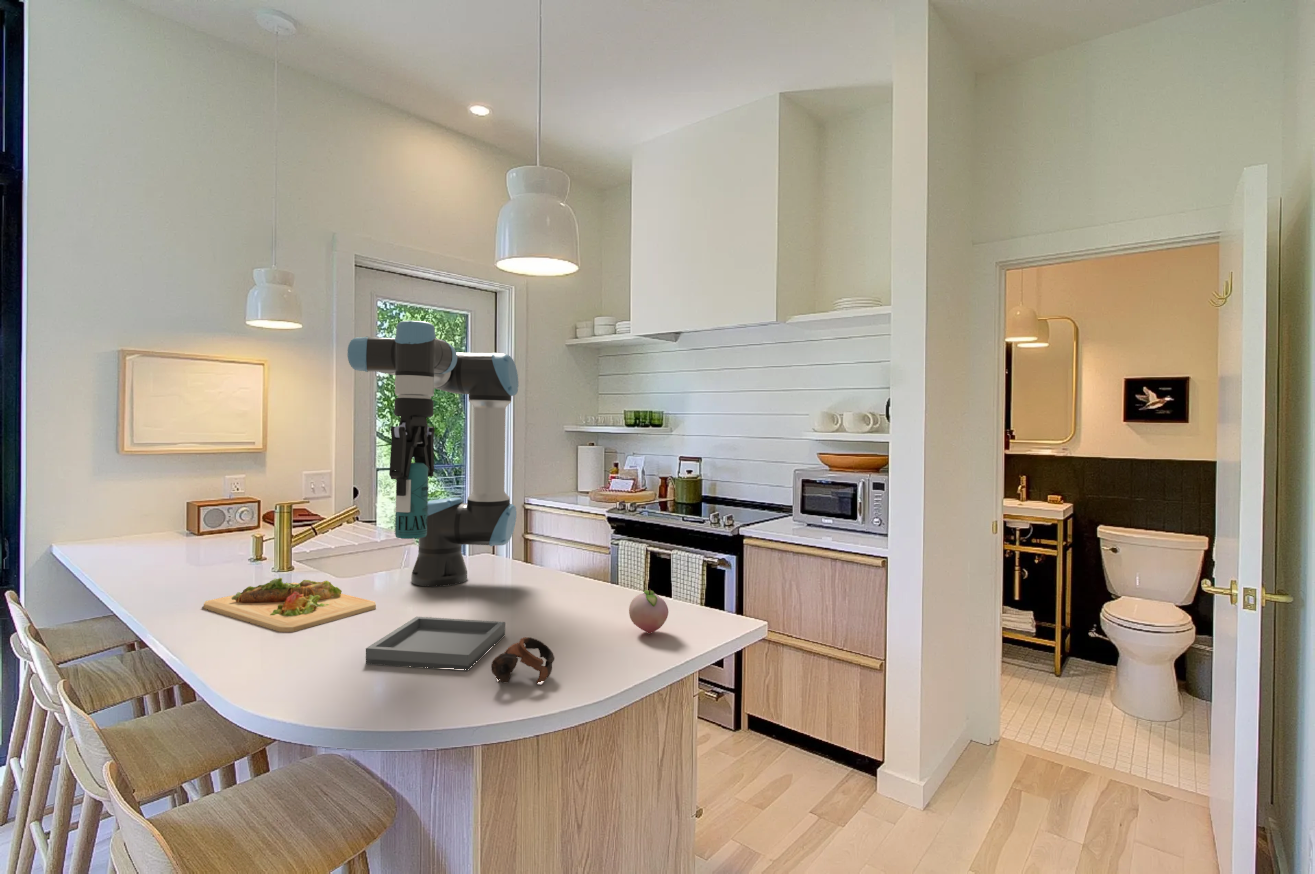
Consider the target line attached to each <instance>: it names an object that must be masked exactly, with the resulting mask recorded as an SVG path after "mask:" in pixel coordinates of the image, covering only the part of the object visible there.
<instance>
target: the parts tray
mask: <svg viewBox="0 0 1315 874" xmlns="http://www.w3.org/2000/svg"><path fill="white" fill-rule="evenodd" d="M504 635H505V636H506V621H496V620H482V619H481V620H479V619H478V620H477V619H462V618H444V617H443V618H442V617H432V616H431V617H429V616H415V617H414V618H412V619H410V620H409V621H407V622H405V623H403V624H402V625H401V626H400V627H397V628H396V629H394V630H393V631H391V632H389V633H388V634H386V635H384V636H383V637H381V638H380V639H379V640H377V641H375V642H373V643H372V644H370V645H368V646H367V647H366V648H365V665H375V666H389V667H401V666H408V667H407V668H415V667H423V668H422V669H430V668H454V669H464V670H465V669H466V670H468V669H469V668H470V667H471V666H473V664H474V663H476V661H478V660H479V659H480V658H481V657H482V656H483V655H484V654H485V653H486V652H487V651H488V650H489V649H490V648H491V647H492V646H494V644H496V643H497V642H498V641H499V640H500V639H501V638H502V637H503V636H504ZM505 636H504V637H505ZM504 637H503V638H504ZM503 638H502V639H503ZM502 639H501V640H502ZM501 640H500V641H501ZM500 641H499V642H500ZM499 642H498V643H499ZM498 643H497V644H498ZM497 644H496V645H497ZM494 647H495V646H494ZM487 653H488V652H487ZM487 653H486V654H487ZM486 654H485V655H486ZM485 655H484V656H485ZM484 656H483V657H484ZM483 657H482V658H483ZM482 658H481V659H482ZM481 659H480V660H481ZM480 660H479V661H480ZM479 661H478V662H479ZM476 664H477V663H476ZM409 666H411V667H409ZM425 667H426V668H425ZM427 667H428V668H427ZM473 667H474V666H473Z"/></svg>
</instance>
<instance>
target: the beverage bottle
mask: <svg viewBox="0 0 1315 874" xmlns="http://www.w3.org/2000/svg"><path fill="white" fill-rule="evenodd" d="M414 457H424V454H423V447H417V446H416V447H415V448H414V451H413V456H412V458H414ZM428 470H429V469H428V467H427V466H426V465H425V464H424V463H415V462H411V467H410V472H409V477H408V479H407V480H411V503H410V512H396V511H395V514H394V516H395V520H394V522H395V523H394V535H395V538H397V539H402V540H406V539H407V540H410V539H411V540H413V539H419V538H422V537H425V536H426V535H427V531H428V530H427V529H428V528H427V527H428V526H427V511H428V501H429V494H430V493H429V492H430V491H429V486H430V485H429V476H428Z"/></svg>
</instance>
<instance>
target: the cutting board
mask: <svg viewBox="0 0 1315 874" xmlns="http://www.w3.org/2000/svg"><path fill="white" fill-rule="evenodd" d="M376 608H377V604H376V601H374V600H371V599H365V598H362V597H357V596H353V595H350V594H346V593H345V594H344V593H342V589H340V588H339V587H338V586H334V584H332V582H331V581H329V580H324V581H314V580H310V579H302V581H300V582H283V577H279V578H273V579H272V580H270V581H269V582H267V583H265V584H259V585H256V586H252V585H249V586H247V587H246V588H245V589H243V590H242V592H240V591H238V592H237V593H236V594H232V595H228V596H224V597H219V598H214V599H209V600H206V601H204V602H203V609H204V610H207V609H208V610H207V611H210V610H211V611H210V612H213V611H215V612H214V613H217V614H220V615H223V616H227V617H229V618H230V617H231V618H234V619H236V620H240V621H243V622H247V623H249V622H250V624H253V625H256V624H257V625H256V626H259V625H260V626H259V627H263V626H264V627H263V628H265V629H269V630H272V629H273V630H272V631H276V632H280V633H294V632H298V631H301V630H305V629H309V628H312V627H316V626H319V624H320V625H323V624H326V622H327V623H330V622H333V621H337V620H341V619H344V618H348V617H351V616H355V615H358V614H362V613H365V612H366V613H367V612H369V611H374V610H376Z"/></svg>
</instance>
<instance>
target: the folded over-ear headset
mask: <svg viewBox="0 0 1315 874" xmlns="http://www.w3.org/2000/svg"><path fill="white" fill-rule="evenodd" d="M529 650H538V652H539V657H538V656H536V655H534V654H533V653H532V652H530V651H529ZM519 658H520V661H519ZM543 658H544V659H543ZM544 660H545V663H544ZM518 661H519V662H520V663H523V664H524V665H526V666H528V667H531V668H532V669H534V670H535V671H538V672H539V674H538V678H537V680H536V682H535V683H536V684H537V683H538V682H541V681H545V680H546V681H547V678H550V676H551V674H552V672H553V663H554V661H555V655H554V653H553V651H552V650H551V649H550V648H549V646H547V645H546V644H545V643H544V642H542V641H541V640H538V639H537V638H534V637H530V636H529V637H525V636H524V637H521V638H520V639H519V641H517V642H515V643H513V644H511V645H510V646H509V647H508V648H507V649H505V651H504V652H502V653H500V654H498V655H497V656H495V658H494V659H492V662H491V667H490V668H491V670H490V671H491V672H492V674H493V676H495V679H496V678H497V679H498V680H499V679H500V681H499V682H501V683H505V684H507V683H509V682H510V678H511V674H512V673H513V672H514V669H515V668H516V666H517V664H518ZM543 664H544V665H543ZM546 681H545V682H546Z"/></svg>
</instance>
